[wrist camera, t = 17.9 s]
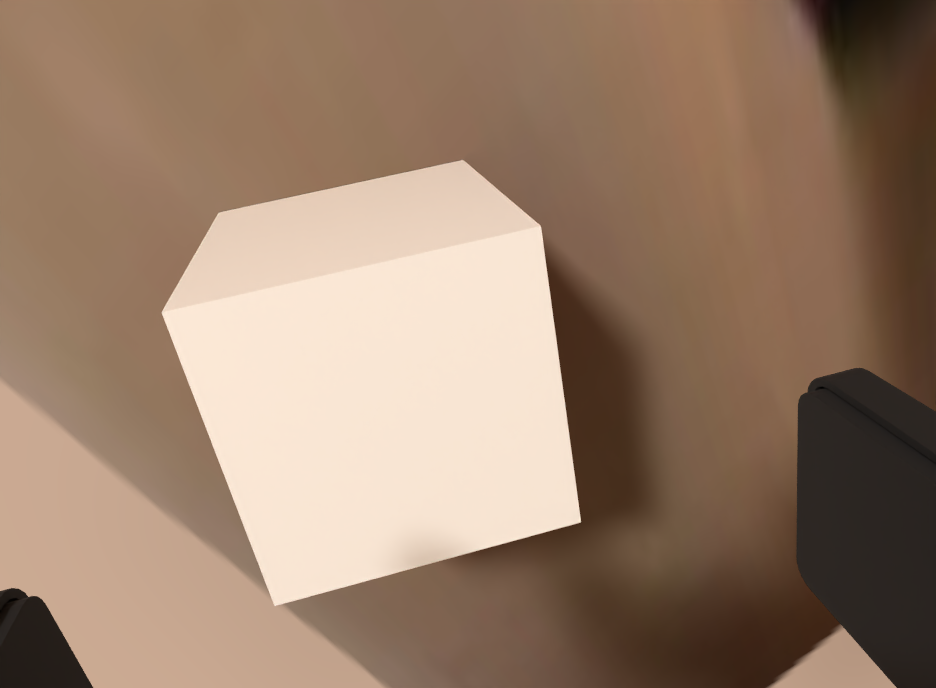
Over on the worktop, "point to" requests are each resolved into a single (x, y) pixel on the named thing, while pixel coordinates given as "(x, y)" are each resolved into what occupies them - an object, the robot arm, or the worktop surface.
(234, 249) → the cream matte cube
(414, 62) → the worktop surface
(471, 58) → the worktop surface
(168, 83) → the worktop surface
